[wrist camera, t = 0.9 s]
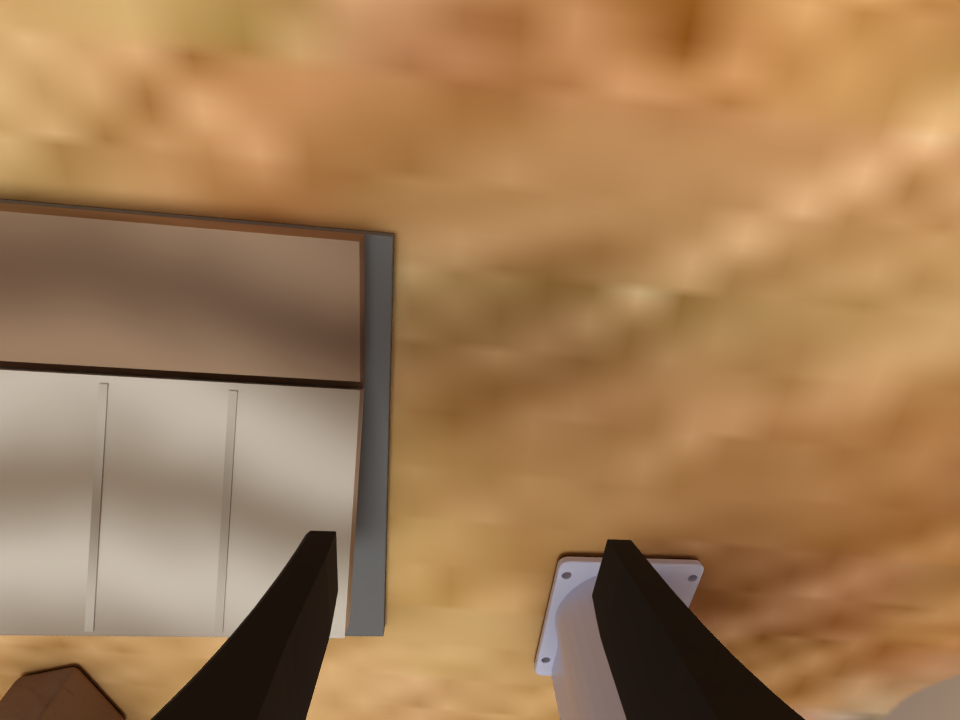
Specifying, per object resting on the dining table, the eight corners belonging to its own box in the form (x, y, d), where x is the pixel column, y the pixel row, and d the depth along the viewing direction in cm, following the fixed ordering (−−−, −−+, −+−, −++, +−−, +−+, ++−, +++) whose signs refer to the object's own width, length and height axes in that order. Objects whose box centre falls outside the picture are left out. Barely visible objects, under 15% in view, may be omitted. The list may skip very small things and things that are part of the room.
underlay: (384, 626, 28) (383, 636, 27) (81, 622, 26) (73, 633, 26) (394, 233, 18) (392, 236, 18) (-78, 192, 17) (-96, 194, 16)
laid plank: (364, 382, 20) (360, 397, 19) (-4, 361, 19) (-31, 375, 18) (364, 234, 18) (359, 241, 17) (-63, 197, 16) (-98, 202, 15)
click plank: (349, 621, 20) (344, 638, 19) (-19, 616, 19) (-51, 635, 18) (364, 388, 20) (359, 390, 19) (-5, 367, 19) (-36, 367, 18)
